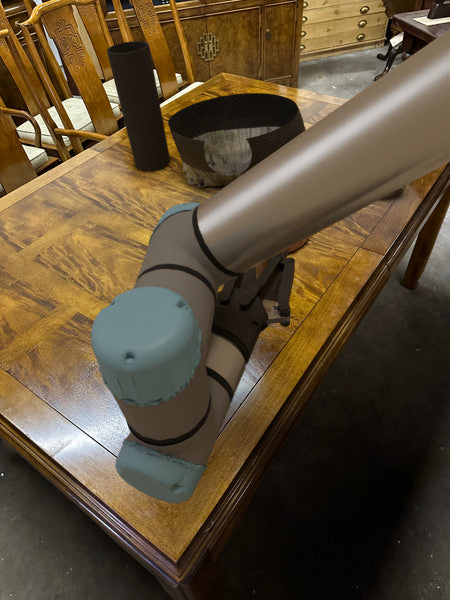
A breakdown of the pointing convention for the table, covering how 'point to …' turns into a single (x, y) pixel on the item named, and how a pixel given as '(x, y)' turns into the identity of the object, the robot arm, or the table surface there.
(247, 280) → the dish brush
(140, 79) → the vase
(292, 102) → the basket
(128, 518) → the table surface
